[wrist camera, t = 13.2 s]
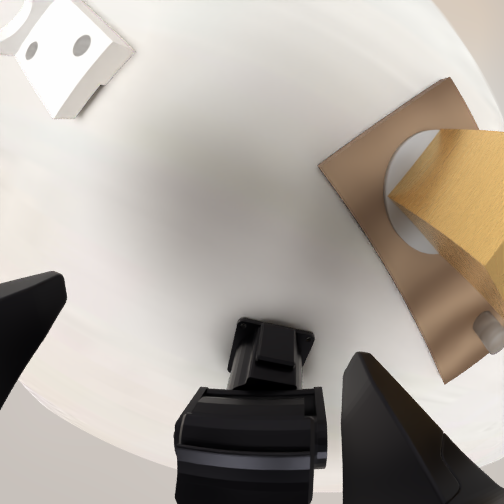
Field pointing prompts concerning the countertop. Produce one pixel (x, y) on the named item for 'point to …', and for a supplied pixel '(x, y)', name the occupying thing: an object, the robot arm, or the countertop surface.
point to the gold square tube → (461, 205)
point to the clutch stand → (408, 235)
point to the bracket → (63, 52)
